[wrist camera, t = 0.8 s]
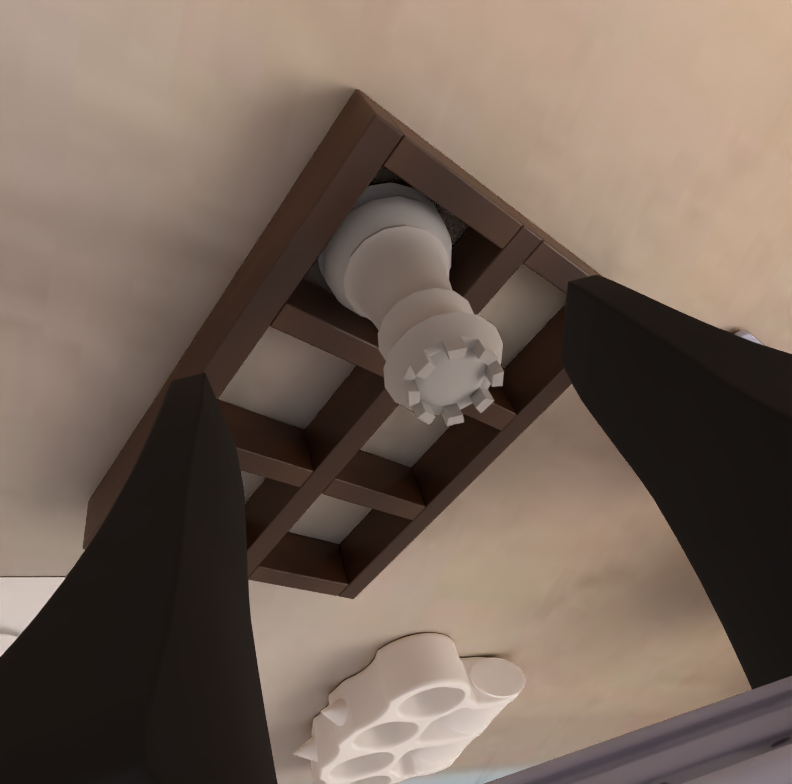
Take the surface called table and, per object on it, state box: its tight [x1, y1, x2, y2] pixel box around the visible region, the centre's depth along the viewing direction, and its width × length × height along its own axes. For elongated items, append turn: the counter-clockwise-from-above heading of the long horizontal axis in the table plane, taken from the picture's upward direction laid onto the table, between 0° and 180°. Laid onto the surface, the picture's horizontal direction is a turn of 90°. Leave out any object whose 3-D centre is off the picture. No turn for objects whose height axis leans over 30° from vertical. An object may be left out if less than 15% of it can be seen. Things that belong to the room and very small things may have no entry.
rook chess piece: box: [318, 182, 504, 426], centre depth 18 cm, size 4×4×8 cm
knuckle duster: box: [293, 633, 526, 784], centre depth 45 cm, size 3×18×15 cm
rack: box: [83, 89, 601, 599], centre depth 25 cm, size 13×19×2 cm
